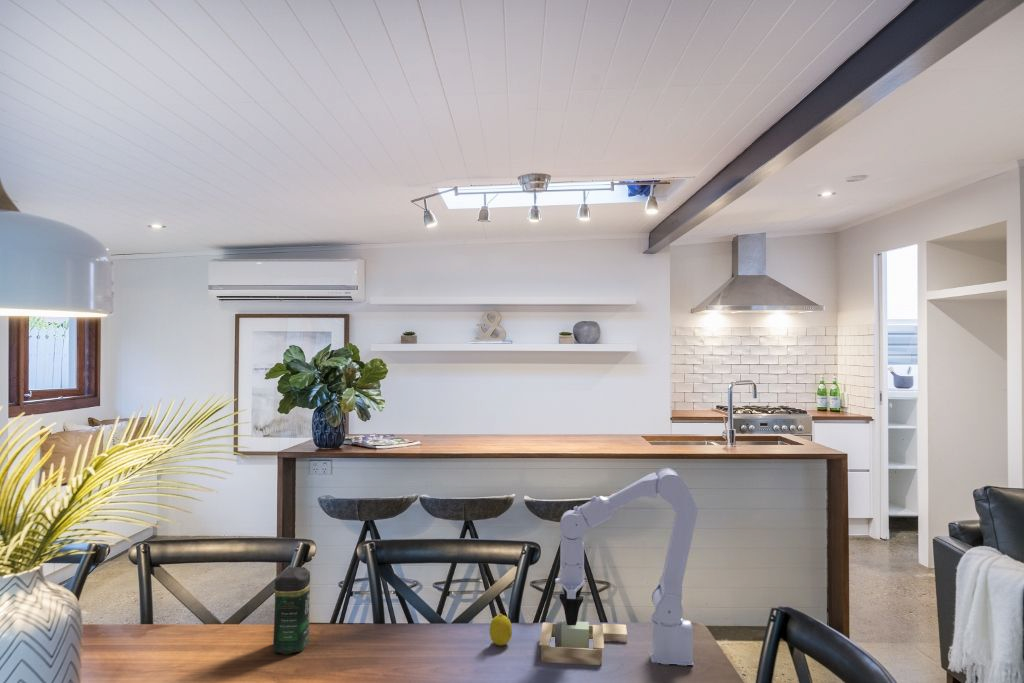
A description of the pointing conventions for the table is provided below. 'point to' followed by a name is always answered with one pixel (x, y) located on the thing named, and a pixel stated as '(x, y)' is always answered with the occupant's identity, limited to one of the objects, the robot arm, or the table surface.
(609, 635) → the oak stand
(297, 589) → the coffee jar
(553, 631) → the wooden tray
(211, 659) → the table surface
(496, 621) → the lemon
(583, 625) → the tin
